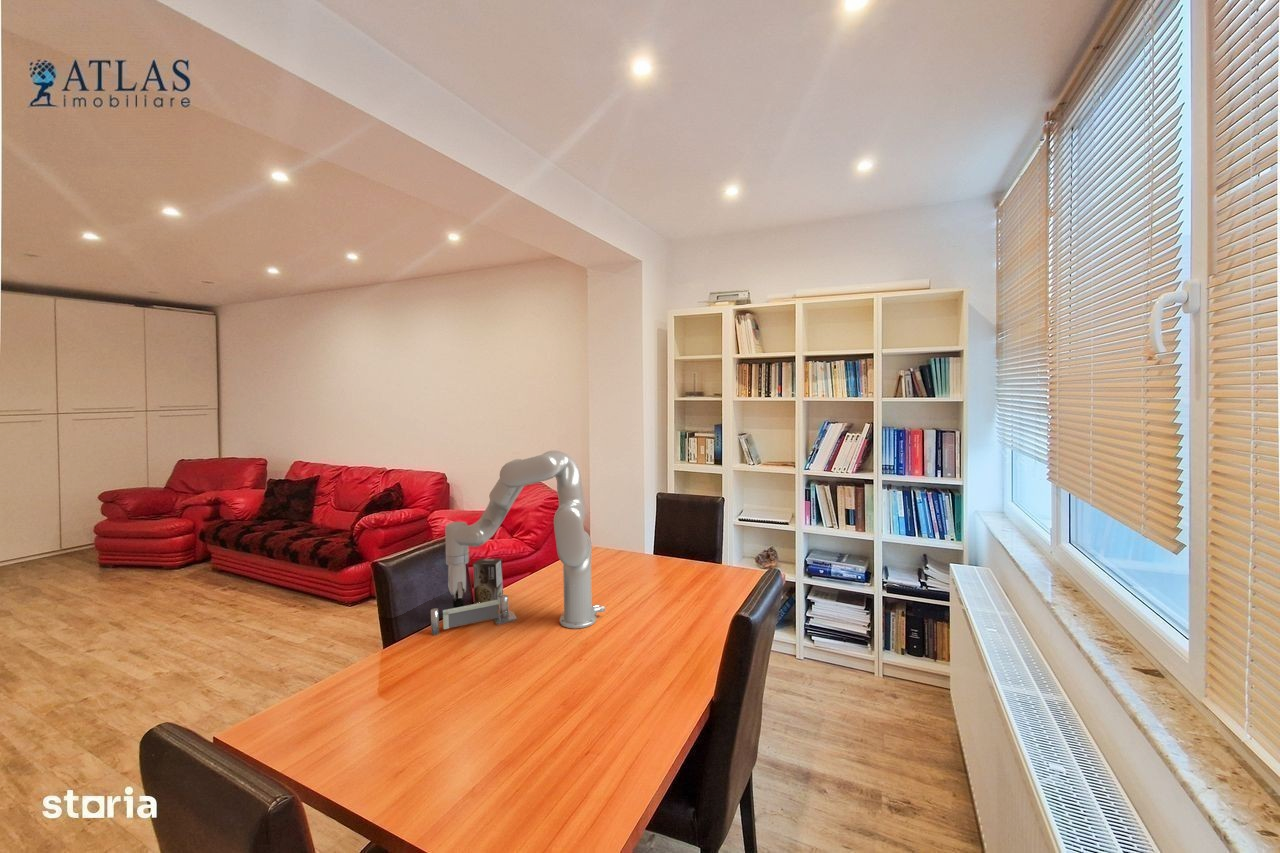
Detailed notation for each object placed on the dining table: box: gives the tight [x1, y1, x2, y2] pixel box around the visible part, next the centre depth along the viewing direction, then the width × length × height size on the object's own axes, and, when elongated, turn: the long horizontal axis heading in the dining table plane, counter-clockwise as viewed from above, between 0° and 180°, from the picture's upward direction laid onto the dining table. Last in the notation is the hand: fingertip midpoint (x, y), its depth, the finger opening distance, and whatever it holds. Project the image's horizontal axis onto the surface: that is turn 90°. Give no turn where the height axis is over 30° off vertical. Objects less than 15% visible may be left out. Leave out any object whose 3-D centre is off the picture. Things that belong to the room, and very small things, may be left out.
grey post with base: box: [493, 594, 518, 626], centre depth 174 cm, size 7×7×8 cm
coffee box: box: [472, 558, 504, 605], centre depth 188 cm, size 9×6×16 cm
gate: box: [442, 600, 500, 630], centre depth 169 cm, size 18×2×6 cm, turn 118°
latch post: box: [430, 607, 440, 636], centre depth 164 cm, size 2×2×8 cm
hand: (458, 610), depth 173 cm, fingers closed
